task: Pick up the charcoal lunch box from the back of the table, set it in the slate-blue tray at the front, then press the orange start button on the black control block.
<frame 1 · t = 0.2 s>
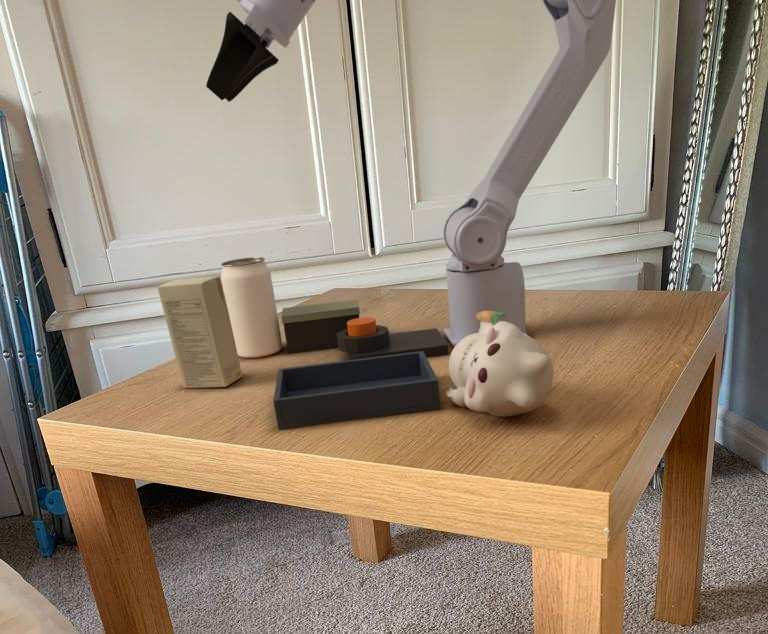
hand: (218, 94, 84), 31 cm above the table, tool tilted 45°, fingers open, 7 cm apart
control block: (396, 351, 96), on the table
can: (259, 353, 103), on the table
cosmetic box: (212, 384, 92), on the table
tray: (356, 401, 80), on the table
cat figurine: (500, 412, 73), on the table
start button: (361, 327, 94), point 3 cm above the table, slide at 0.1 cm
lunchbox: (325, 344, 103), on the table
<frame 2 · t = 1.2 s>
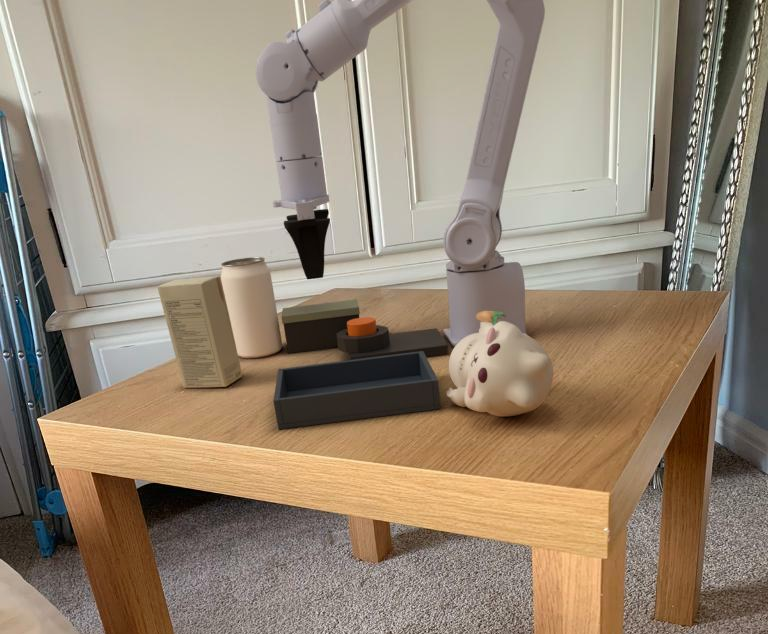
hand: (315, 273, 98), 9 cm above the table, tool pointing down, fingers open, 7 cm apart
nothing on the table moved.
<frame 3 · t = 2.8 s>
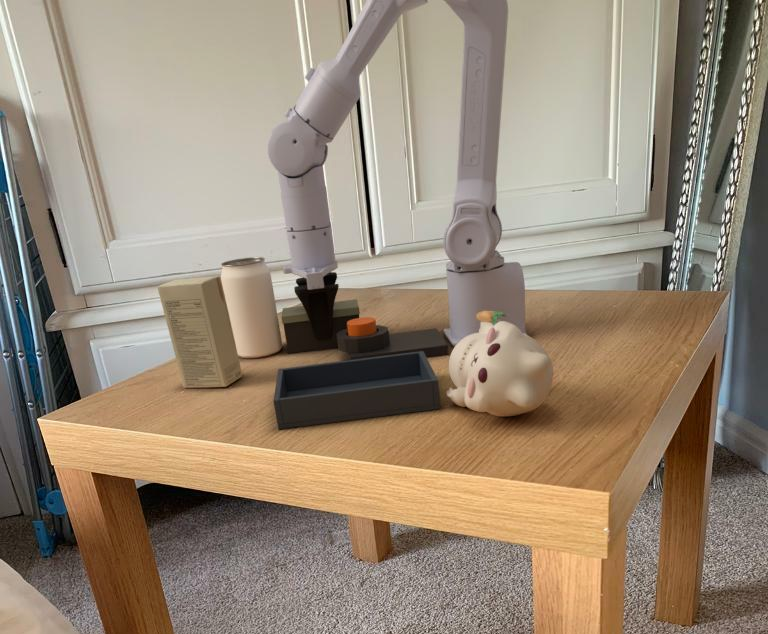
hand: (323, 334, 102), 1 cm above the table, tool pointing down, fingers closed on lunchbox, 5 cm apart
lunchbox: (325, 344, 103), on the table, touching gripper
everything else where it was.
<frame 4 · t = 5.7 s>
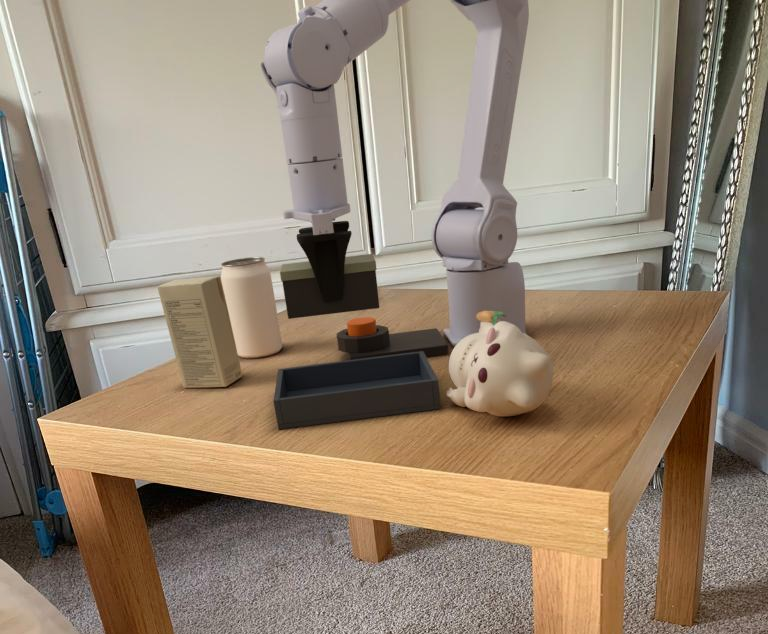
hand: (332, 295, 83), 9 cm above the table, tool pointing down, fingers closed on lunchbox, 5 cm apart
lunchbox: (333, 308, 84), point 8 cm above the table, touching gripper
everything else where it was.
when the fingers open (2 cm above the table, at t = 8.7 s): lunchbox stays where it is, resting on tray.
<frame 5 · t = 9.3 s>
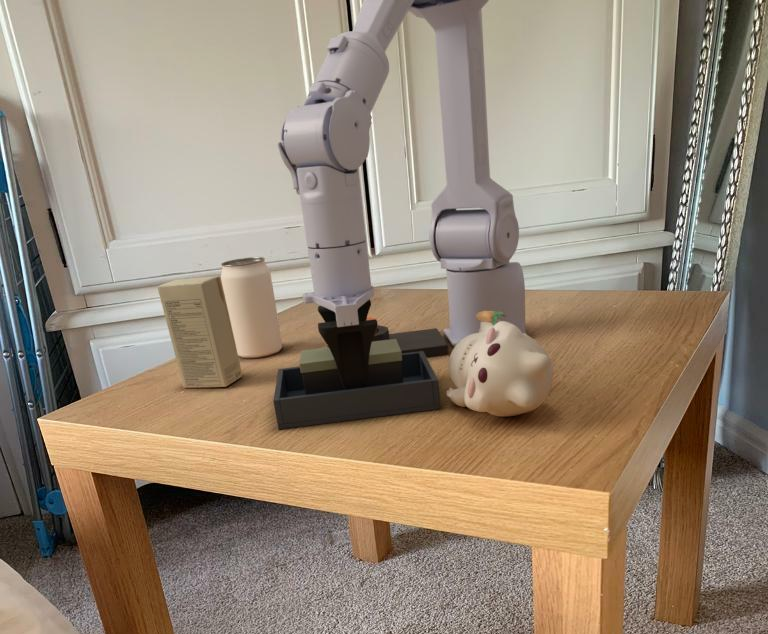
hand: (354, 380, 79), 2 cm above the table, tool pointing down, fingers open, 7 cm apart
lunchbox: (355, 397, 79), resting on tray
everything else where it was.
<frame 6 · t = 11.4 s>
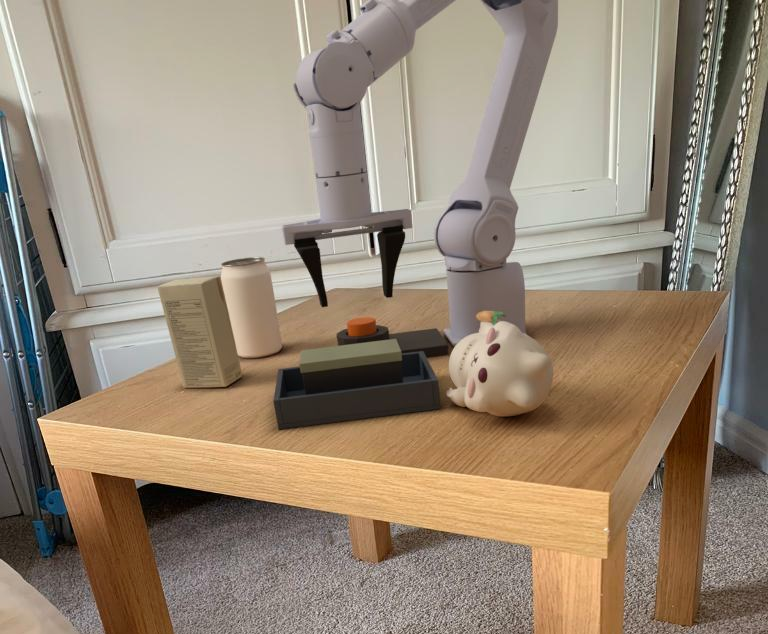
hand: (356, 300, 89), 8 cm above the table, tool pointing down, fingers open, 7 cm apart
nothing on the table moved.
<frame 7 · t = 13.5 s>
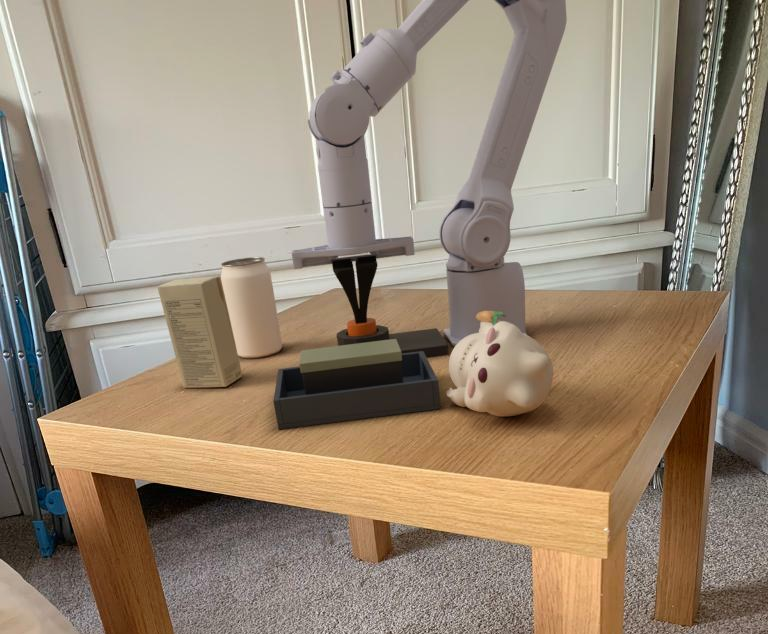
hand: (360, 321, 94), 4 cm above the table, tool pointing down, fingers closed, pressing on start button
start button: (361, 328, 94), point 3 cm above the table, slide at 0.0 cm, touching gripper
everything else where it was.
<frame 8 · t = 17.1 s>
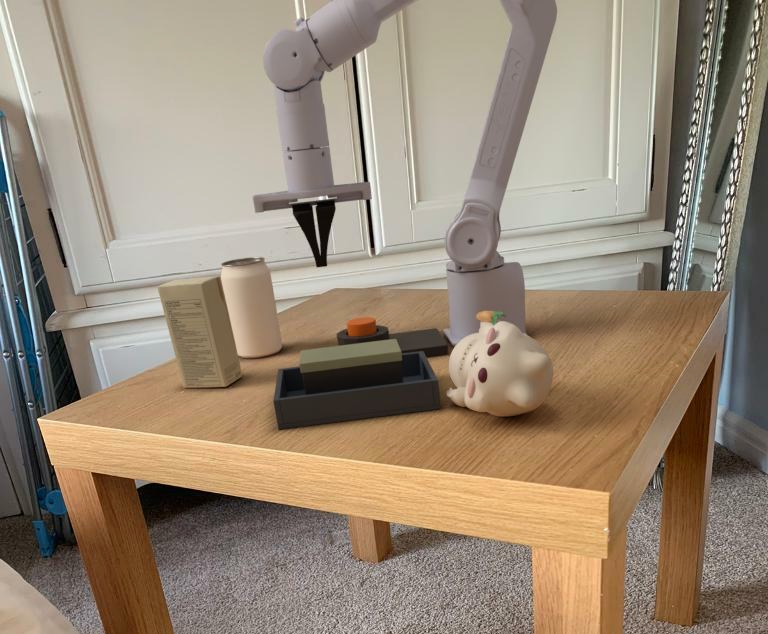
hand: (321, 265, 97), 10 cm above the table, tool pointing down, fingers closed
start button: (361, 327, 94), point 3 cm above the table, slide at 0.1 cm
everything else where it was.
at the end: lunchbox inside the target area in the tray (0.1 cm from its centre), point 0.5 cm above the tray's base; lunchbox tilted 0°; start button pushed in 1.2 cm at the most during the clip, back to where it started at the end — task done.
